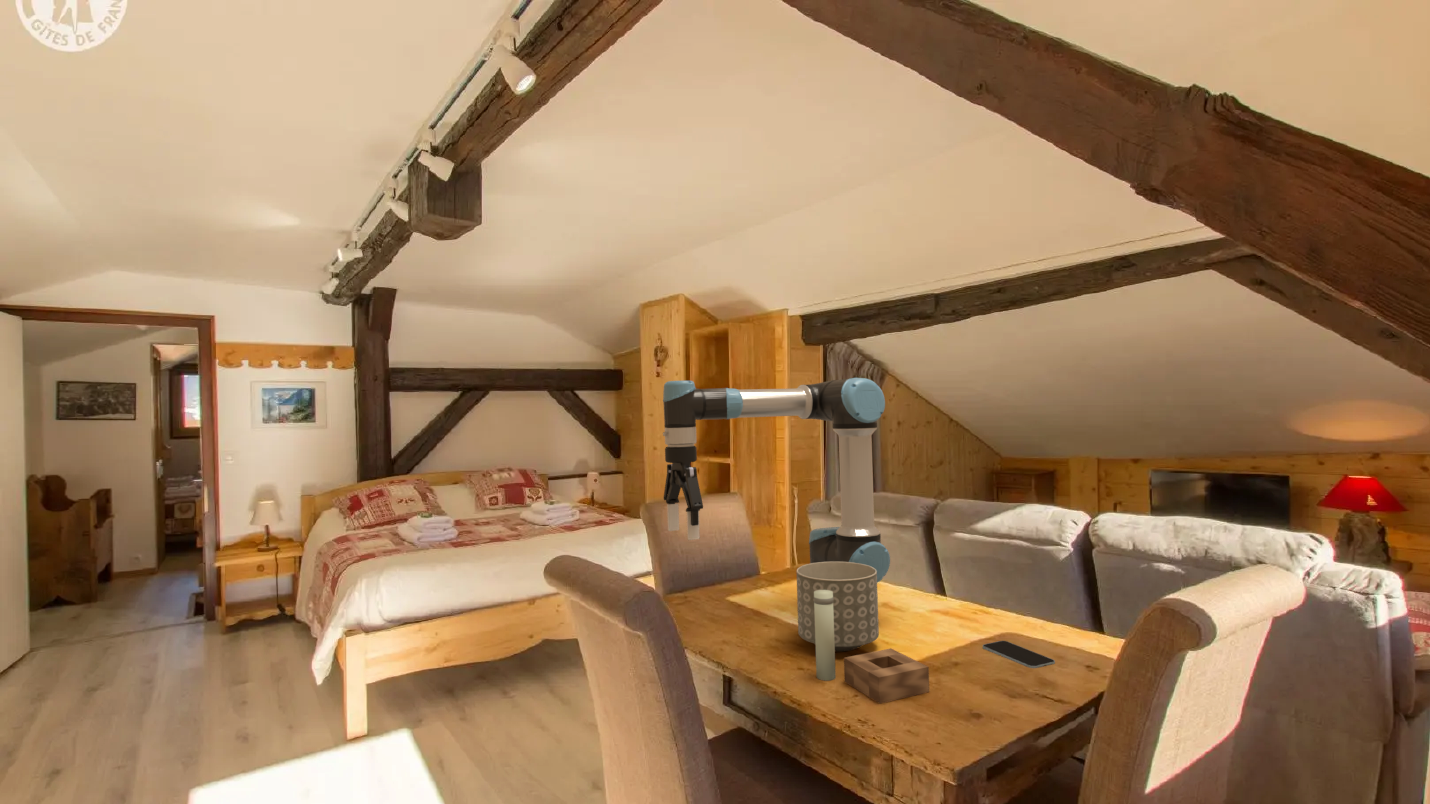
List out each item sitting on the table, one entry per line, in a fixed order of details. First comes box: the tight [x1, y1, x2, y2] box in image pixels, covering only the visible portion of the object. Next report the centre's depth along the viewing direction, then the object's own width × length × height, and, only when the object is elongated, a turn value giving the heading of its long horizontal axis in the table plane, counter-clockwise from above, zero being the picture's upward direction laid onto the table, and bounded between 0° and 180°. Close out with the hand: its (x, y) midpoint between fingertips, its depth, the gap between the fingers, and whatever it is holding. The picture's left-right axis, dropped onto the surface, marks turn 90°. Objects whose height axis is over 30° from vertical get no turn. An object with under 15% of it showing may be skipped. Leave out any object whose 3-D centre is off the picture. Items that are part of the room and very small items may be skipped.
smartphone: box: [982, 640, 1056, 669], centre depth 157 cm, size 7×1×15 cm
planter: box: [796, 562, 880, 653], centre depth 166 cm, size 19×19×18 cm
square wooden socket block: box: [843, 648, 930, 704], centre depth 141 cm, size 12×12×5 cm
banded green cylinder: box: [814, 590, 837, 682], centre depth 148 cm, size 4×4×18 cm
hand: (683, 534), depth 165 cm, fingers open, 13 cm apart
